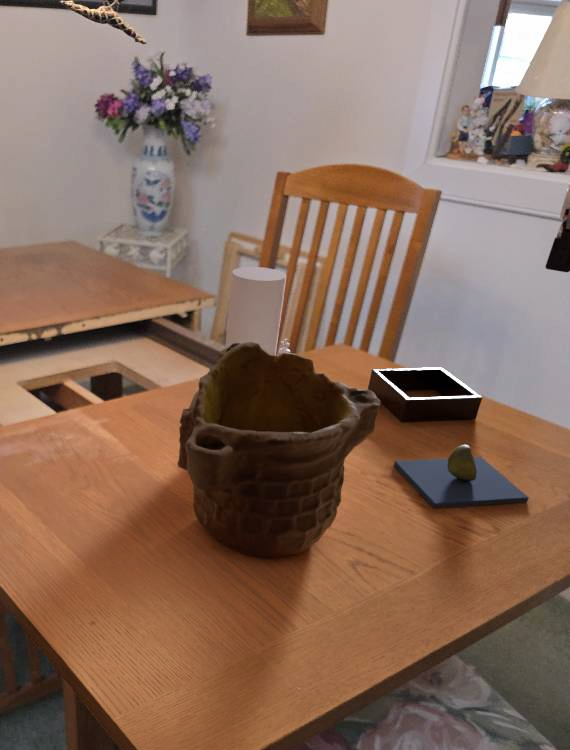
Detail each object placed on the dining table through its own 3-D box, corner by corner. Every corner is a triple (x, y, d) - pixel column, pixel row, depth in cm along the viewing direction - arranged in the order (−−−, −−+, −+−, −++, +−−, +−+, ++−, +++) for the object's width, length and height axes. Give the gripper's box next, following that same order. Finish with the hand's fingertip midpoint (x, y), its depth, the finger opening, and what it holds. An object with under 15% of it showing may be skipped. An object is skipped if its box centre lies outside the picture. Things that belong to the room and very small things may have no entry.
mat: (479, 461, 106) (481, 456, 106) (527, 502, 96) (529, 497, 96) (393, 465, 104) (394, 460, 103) (433, 508, 94) (435, 503, 93)
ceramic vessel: (388, 570, 67) (259, 339, 62) (201, 622, 83) (84, 441, 78) (434, 470, 84) (335, 280, 78) (270, 529, 100) (178, 374, 94)
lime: (455, 467, 102) (464, 436, 99) (484, 482, 99) (494, 450, 96) (435, 475, 100) (444, 443, 97) (464, 490, 97) (475, 457, 94)
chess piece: (279, 402, 121) (288, 345, 115) (258, 393, 124) (265, 337, 118) (297, 396, 124) (306, 340, 118) (276, 387, 127) (284, 332, 121)
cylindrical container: (206, 442, 107) (221, 271, 93) (237, 429, 111) (255, 264, 97) (242, 459, 103) (263, 283, 89) (272, 445, 107) (297, 275, 93)
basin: (436, 388, 130) (441, 367, 128) (475, 419, 119) (482, 397, 117) (367, 390, 127) (371, 369, 125) (401, 422, 116) (407, 399, 114)
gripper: (638, 130, 83) (582, 280, 93) (650, 125, 95) (600, 258, 105) (569, 125, 86) (522, 270, 96) (589, 120, 98) (546, 250, 108)
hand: (563, 264), depth 100 cm, fingers open, 9 cm apart
